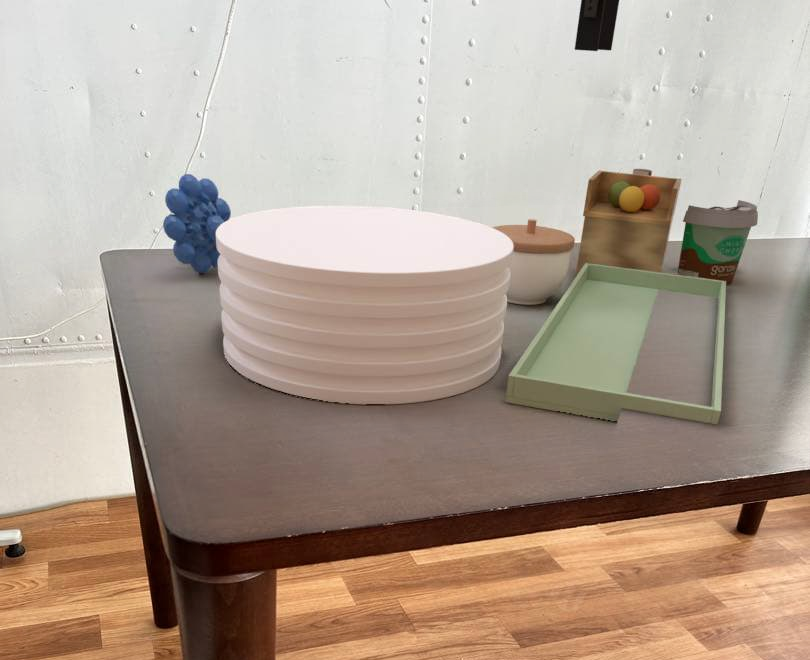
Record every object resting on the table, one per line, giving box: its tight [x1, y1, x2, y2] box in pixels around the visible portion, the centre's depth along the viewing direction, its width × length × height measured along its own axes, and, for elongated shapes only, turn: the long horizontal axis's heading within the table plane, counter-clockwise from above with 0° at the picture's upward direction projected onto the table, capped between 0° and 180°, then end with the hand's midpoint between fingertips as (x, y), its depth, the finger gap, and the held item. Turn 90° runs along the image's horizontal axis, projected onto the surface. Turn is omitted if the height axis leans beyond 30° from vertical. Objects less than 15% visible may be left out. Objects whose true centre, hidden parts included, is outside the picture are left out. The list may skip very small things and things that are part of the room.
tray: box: [504, 263, 727, 425], centre depth 90 cm, size 18×46×3 cm, turn 161°
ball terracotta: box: [640, 184, 660, 210], centre depth 110 cm, size 3×3×3 cm
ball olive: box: [608, 182, 630, 207], centre depth 111 cm, size 3×3×3 cm
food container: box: [676, 199, 759, 286], centre depth 112 cm, size 12×6×10 cm, turn 126°
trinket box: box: [491, 218, 576, 306], centre depth 101 cm, size 11×11×9 cm
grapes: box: [162, 173, 232, 274], centre depth 102 cm, size 12×7×12 cm, turn 151°
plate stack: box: [216, 205, 514, 405], centre depth 81 cm, size 28×28×12 cm
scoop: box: [582, 168, 682, 226], centre depth 111 cm, size 11×15×4 cm
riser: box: [574, 216, 674, 277], centre depth 113 cm, size 11×6×8 cm, turn 71°
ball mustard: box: [619, 186, 644, 212], centre depth 108 cm, size 3×3×3 cm
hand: (593, 50), depth 105 cm, fingers open, 13 cm apart
